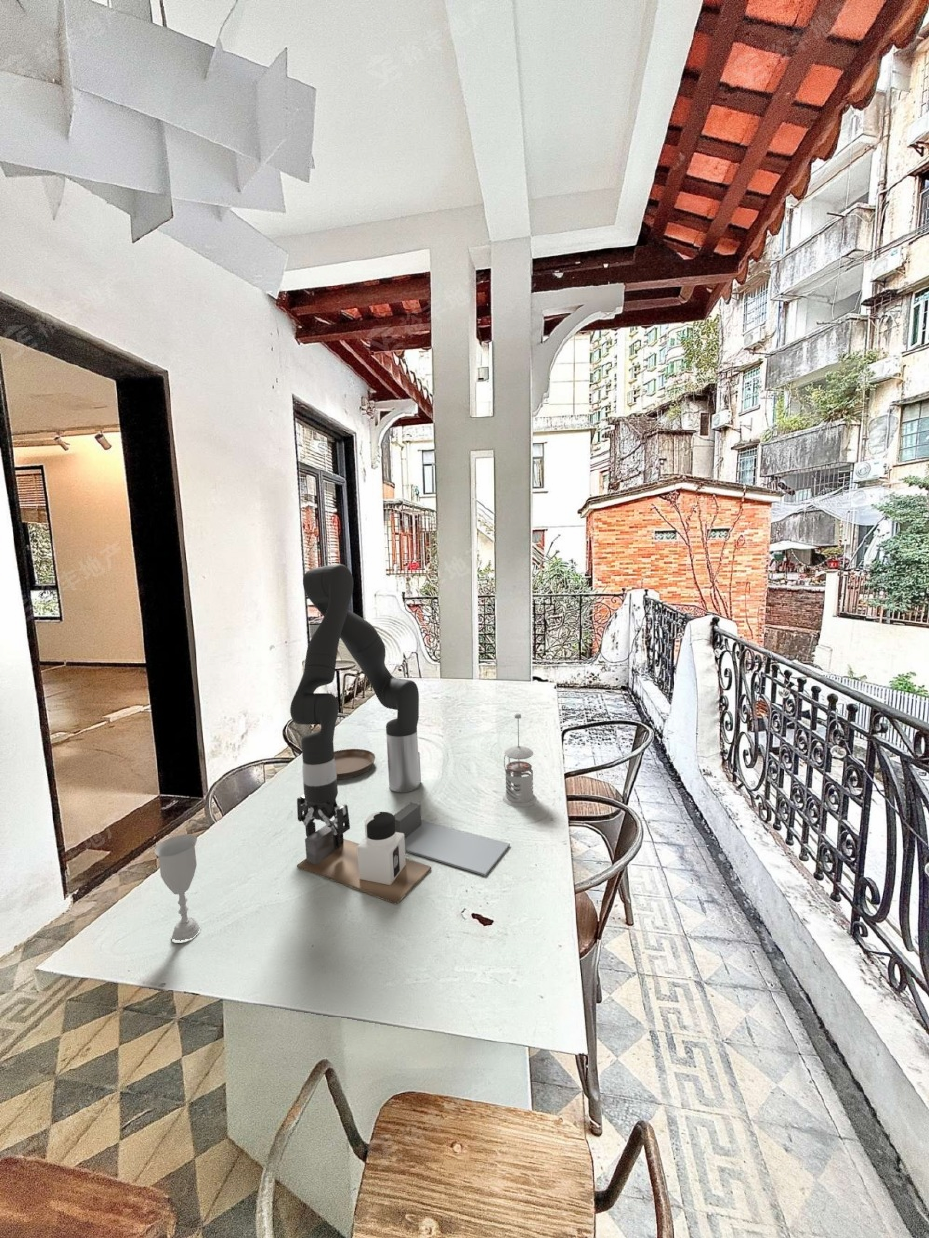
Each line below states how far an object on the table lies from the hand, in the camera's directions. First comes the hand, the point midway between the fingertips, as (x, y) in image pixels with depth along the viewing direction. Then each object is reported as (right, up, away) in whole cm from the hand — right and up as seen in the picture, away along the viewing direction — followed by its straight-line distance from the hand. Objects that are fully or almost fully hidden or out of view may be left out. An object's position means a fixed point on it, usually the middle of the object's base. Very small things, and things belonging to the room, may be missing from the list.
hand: (324, 843), depth 121 cm
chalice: (-20, -7, -24) cm, 32 cm away
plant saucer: (-7, +2, +50) cm, 50 cm away
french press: (+48, +2, +26) cm, 55 cm away
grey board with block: (+28, -2, +3) cm, 29 cm away
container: (+15, -3, -8) cm, 17 cm away
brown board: (+10, -3, -5) cm, 12 cm away
